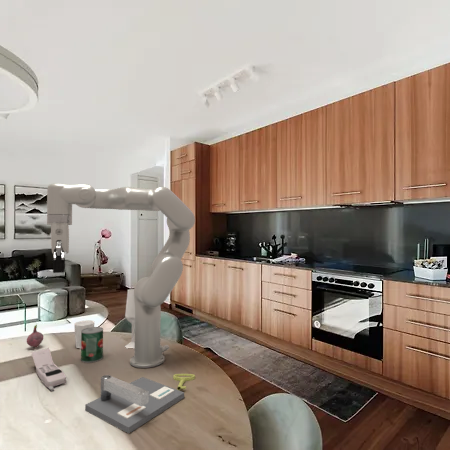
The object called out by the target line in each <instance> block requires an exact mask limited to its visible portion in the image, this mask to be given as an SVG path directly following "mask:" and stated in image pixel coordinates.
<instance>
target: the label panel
mask: <svg viewBox="0 0 450 450" xmlns="http://www.w3.org/2000/svg"><path fill="white" fill-rule="evenodd" d="M128 383H129V384H132V385H134V386H137V387H139V388H142V389H144V390H147V391H149V402H148V403H147V404H145V405H143V406H139V405H137V404H134V403H132V402H130V401H128V400H126V399H123V398H121V397H119V396H117V395H115V394H112V393H111V398H110V399H108V400H101V396H100V397H98V398H97V399H94V400H91V401H90V402H87V403H86V404H85V405H84V406H85V407H84V409H85V412H88V413H89V414H91V415H93V416H95V417H97V418H98V419H101V420H102V421H104V422H106V423H108V424H109V425H111V424H112V426H113V425H114V426H113V427H115V426H116V428H117V427H118V428H117V429H119V428H120V429H119V430H121V431H122V430H123V431H122V432H124V431H125V432H124V433H126V432H127V433H126V434H128V433H129V434H130V432H131V433H132V432H134V431H135V430H137V429H139V428H140V427H141V426H143V425H144V424H146V423H147V422H150V420H153V418H155V417H157V416H159V415H160V414H162V413H164V412H166V411H167V410H168V409H170V407H172V406H174V405H175V404H177V403H179V402H180V401H182V400H183V399H185V392H183V391H181V390H177V388H173V387H172V386H171V387H170V386H169V385H165V384H162V383H160V382H158V381H155V380H152V379H150V378H147V377H143V376H141V377H139V378H137V379H135V380H133V381H131V382H128Z"/></svg>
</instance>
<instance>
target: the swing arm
mask: <svg viewBox="0 0 450 450" xmlns="http://www.w3.org/2000/svg"><path fill="white" fill-rule="evenodd" d="M129 383H130V382H128V381H124V380H122V379H119V378H117V377H116V376H115V377H114V376H112V375H110V374H104V375H101V377H100V397H101V400H108V399H110V398H111V393H112V394H115V395H117V396H119V397H121V398H123V399H126V400H128V401H130V402H132V403H134V404H137V405H139V406H143V405H145V404H147V403H148V402H149V391H147V390H144V389H142V388H139V387H137V386H134V385H132V384H129Z"/></svg>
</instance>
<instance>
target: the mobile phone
mask: <svg viewBox="0 0 450 450" xmlns="http://www.w3.org/2000/svg"><path fill="white" fill-rule="evenodd" d="M31 356H32V358H33V359H32V360H33V362H34V365H35V373H36V375H37V376H38V378H39V379H40V381H41V382H42V384H43V385H44V386H45V387H46V388H48V389H49V390H50V391H55V389H54V387H57V386H59V385H64V384H65V383H67V375H66V374H65V372H64V371H63V370H62V369H61V368H60V367H59V366H58V365H56V364H55V363H54V361H53V357H52V354H51V349H50V348H49V347H48V348H41V349H39V350H34V351H31Z"/></svg>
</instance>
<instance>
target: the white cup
mask: <svg viewBox="0 0 450 450" xmlns="http://www.w3.org/2000/svg"><path fill="white" fill-rule="evenodd" d="M90 327H95V321H94V320H87V319H86V320H81V321H76V322H75V323H74V342H75V348H76V349H77V348H80V349H79V350H81V331H82V330H83V329H86V328H90Z"/></svg>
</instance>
